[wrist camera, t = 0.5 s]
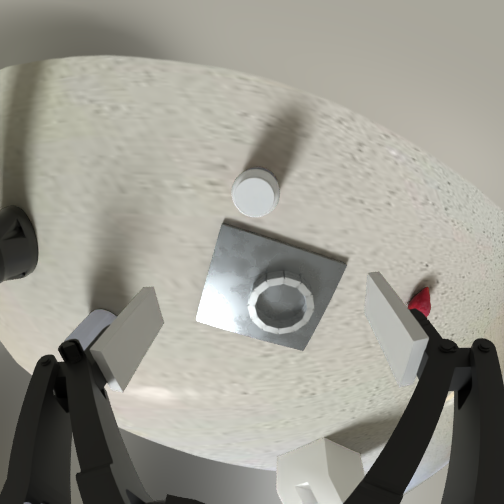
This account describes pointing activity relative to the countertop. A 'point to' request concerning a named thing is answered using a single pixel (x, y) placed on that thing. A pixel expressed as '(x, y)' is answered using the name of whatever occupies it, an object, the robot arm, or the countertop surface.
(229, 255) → the duct plate
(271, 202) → the pill bottle
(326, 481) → the white toy house
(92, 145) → the countertop surface
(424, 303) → the fruit
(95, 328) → the soap bottle
